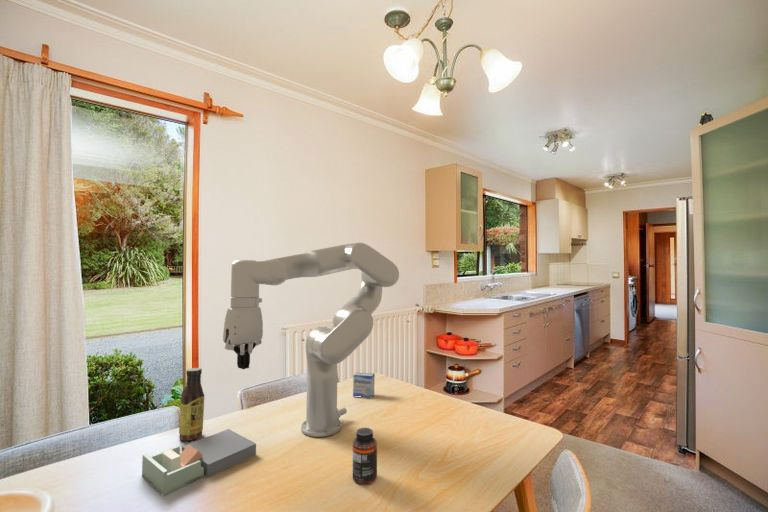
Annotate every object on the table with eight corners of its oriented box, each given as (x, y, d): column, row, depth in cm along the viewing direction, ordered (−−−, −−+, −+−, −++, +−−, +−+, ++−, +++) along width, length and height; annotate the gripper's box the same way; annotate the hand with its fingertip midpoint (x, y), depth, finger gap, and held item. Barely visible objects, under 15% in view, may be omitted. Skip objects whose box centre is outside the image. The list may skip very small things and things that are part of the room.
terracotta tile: (193, 449, 92) (188, 444, 91) (203, 455, 89) (198, 450, 88) (176, 467, 88) (171, 463, 87) (185, 474, 85) (180, 470, 84)
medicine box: (352, 397, 139) (352, 374, 140) (355, 393, 144) (355, 371, 144) (372, 398, 138) (372, 376, 138) (374, 394, 142) (374, 372, 143)
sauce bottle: (192, 443, 102) (194, 373, 102) (173, 441, 103) (175, 371, 104) (208, 433, 108) (209, 367, 109) (190, 430, 109) (192, 365, 110)
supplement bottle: (369, 468, 90) (369, 423, 90) (381, 480, 85) (382, 432, 85) (347, 476, 87) (348, 429, 87) (359, 489, 82) (360, 439, 82)
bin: (181, 460, 93) (181, 440, 93) (203, 476, 86) (204, 455, 86) (141, 475, 86) (142, 454, 86) (162, 495, 79) (163, 472, 79)
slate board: (228, 439, 104) (228, 428, 104) (255, 454, 96) (256, 443, 96) (181, 457, 94) (181, 446, 94) (207, 477, 86) (208, 464, 86)
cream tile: (171, 449, 87) (162, 452, 86) (180, 455, 85) (171, 459, 83) (170, 470, 87) (161, 473, 86) (179, 477, 84) (170, 481, 83)
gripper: (260, 300, 110) (258, 360, 109) (212, 304, 98) (210, 371, 97) (275, 302, 105) (273, 364, 105) (226, 306, 93) (225, 376, 93)
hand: (243, 367), depth 101 cm, fingers closed
